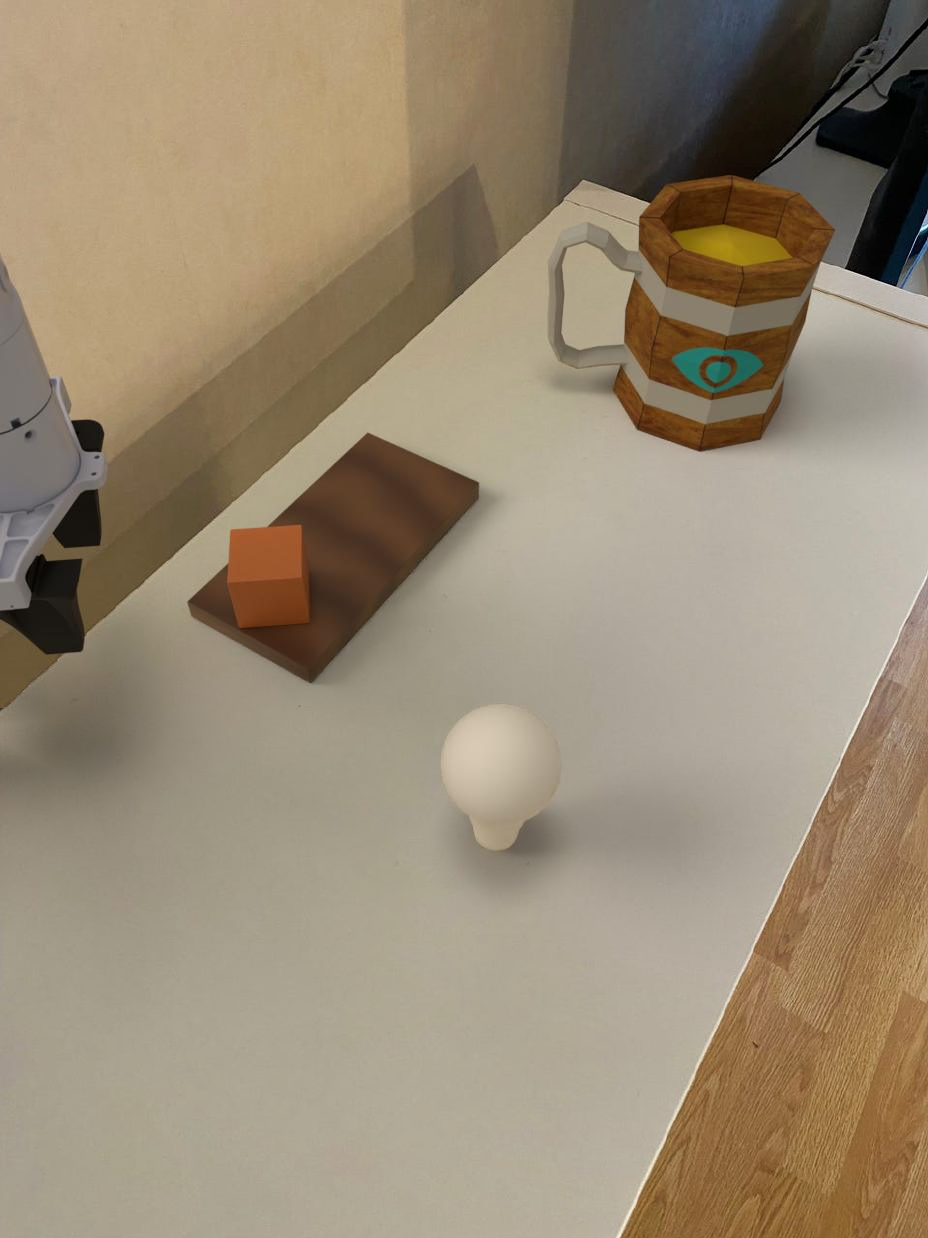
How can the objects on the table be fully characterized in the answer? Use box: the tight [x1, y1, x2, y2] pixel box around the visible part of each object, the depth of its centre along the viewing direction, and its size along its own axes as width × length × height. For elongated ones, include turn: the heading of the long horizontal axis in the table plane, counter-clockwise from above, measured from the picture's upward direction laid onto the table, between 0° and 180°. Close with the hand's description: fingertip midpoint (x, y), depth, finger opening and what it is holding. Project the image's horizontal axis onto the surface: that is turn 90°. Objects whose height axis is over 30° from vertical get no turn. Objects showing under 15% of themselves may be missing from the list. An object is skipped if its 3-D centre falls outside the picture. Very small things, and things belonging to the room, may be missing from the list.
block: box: [227, 525, 310, 628], centre depth 65 cm, size 4×4×4 cm
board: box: [186, 432, 480, 684], centre depth 70 cm, size 20×10×2 cm, turn 147°
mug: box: [547, 174, 836, 452], centre depth 77 cm, size 20×14×15 cm
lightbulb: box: [440, 703, 563, 852], centre depth 53 cm, size 6×6×11 cm
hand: (74, 593), depth 56 cm, fingers open, 7 cm apart
